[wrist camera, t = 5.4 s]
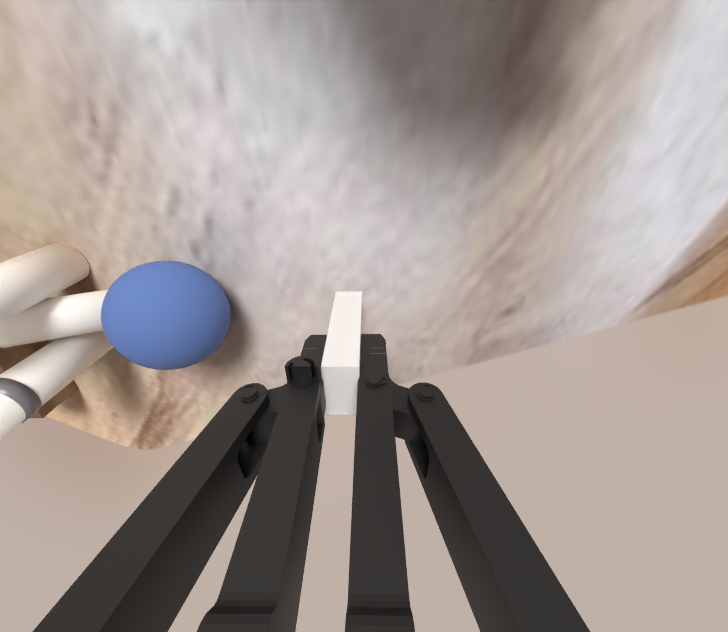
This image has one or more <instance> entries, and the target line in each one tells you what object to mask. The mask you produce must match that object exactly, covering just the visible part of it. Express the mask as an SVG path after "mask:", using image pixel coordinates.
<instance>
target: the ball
mask: <svg viewBox="0 0 728 632" xmlns="http://www.w3.org/2000/svg"><path fill="white" fill-rule="evenodd" d="M230 320H231V311H230V305H229V301H228V299H227V296H226V294H225V292H224V291H223V289H222V287H221V286H220V285H219V284H218V283H217V281H216V280H215V279H214V278H212V277H211V276H210V275H209V274H207V273H206V272H204V271H203V270H201V269H199V268H197V267H195V266H192V265H189V264H186V263H182V262H175V261H157V262H151V263H146V264H143V265H140V266H137V267H135V268H133V269H131V270H129V271H127V272H126V273H124V274H123V275H121V276H120V277H119V278H118V279H117V280H116V281H115V282H114V283H113V284H112V285H111V287H110V288H109V290H108V291H107V293H106V295H105V297H104V300H103V303H102V308H101V322H102V328H103V331H104V333H105V336H106V337H107V339H108V341H109V342H110V344H111V345H112V346H113V347H114V349H115V350H116V351H117V352H119V353H120V354H121V355H122V356H123V357H125V358H126V359H128V360H130V361H131V362H134V363H136V364H138V365H141V366H144V367H147V368H152V369H161V370H172V369H179V368H184V367H188V366H191V365H193V364H196V363H198V362H200V361H202V360H204V359H205V358H207V357H208V356H210V355H211V354H212V353H213V352H214V351H215V350H216V349H217V348H218V347H219V346H220V345H221V343H222V342H223V340H224V339H225V337H226V334H227V332H228V329H229V326H230Z"/></svg>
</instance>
